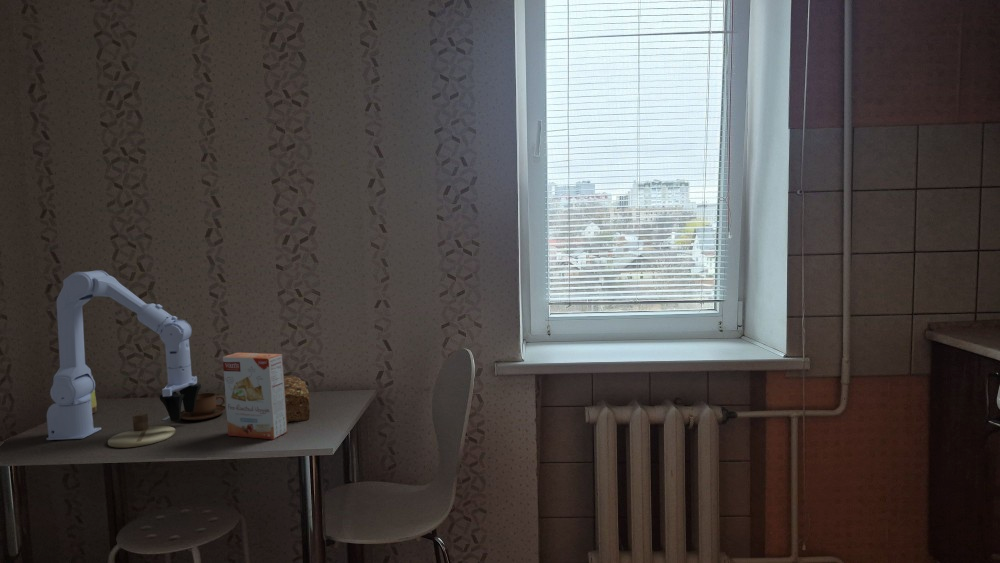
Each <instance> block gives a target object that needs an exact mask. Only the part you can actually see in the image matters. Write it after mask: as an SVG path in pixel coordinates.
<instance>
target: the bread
mask: <svg viewBox="0 0 1000 563" xmlns="http://www.w3.org/2000/svg"><path fill="white" fill-rule="evenodd" d="M284 389H285V404H286V419H287V424H288V423H289V422H301V421H308V420H309V419H310V417H311V416H310V413H311V407H310V405H311V401H310V391H309V388H308V385H307V384H306V381H305V380H302V379H301V378H300V377H297V376H291V375H284Z"/></svg>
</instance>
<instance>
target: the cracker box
mask: <svg viewBox="0 0 1000 563" xmlns="http://www.w3.org/2000/svg"><path fill="white" fill-rule="evenodd" d="M283 360H284V359H283V354H282V353H261V352H260V353H259V352H258V353H257V352H235V353H232V354H231V353H230V354H226V355H224V356H222V366H223V381H224V394H225V397H224V398H225V405H226V406H225V411H226V421H227V433H228V434H227V435H228V436H229V437H230V436H231V437H243V438H252V439H253V438H254V439H265V440H275V439H277V438H280V436H282V435H284V434H287V433H288V423H287V419H286V404H285V389H284V362H283Z"/></svg>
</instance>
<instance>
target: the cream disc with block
mask: <svg viewBox="0 0 1000 563" xmlns="http://www.w3.org/2000/svg"><path fill="white" fill-rule="evenodd" d="M132 427H133V429H130V430H126V431H123V432H120V433H118V434H115V435H113V436H111V437H110V438H109V439H108V440H107V445H108V446H109V447H112V448H117V449H119V448H121V449H123V448H124V449H125V448H134V447H135V448H136V447H141V446H147V445H151V444H155V443H158V442H162V441H164V440H168V439H170V438H171V437H173V436H174V435H176V428H174V427H172V426H167V425H155V426H154V425H153V426H149V419H148V412H143V413H141V412H140V413H136V414H134V415H132Z"/></svg>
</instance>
